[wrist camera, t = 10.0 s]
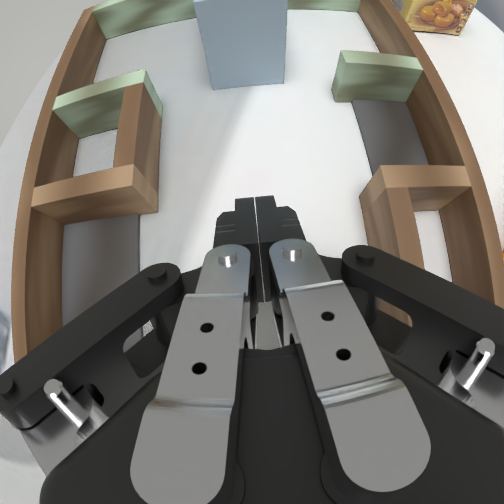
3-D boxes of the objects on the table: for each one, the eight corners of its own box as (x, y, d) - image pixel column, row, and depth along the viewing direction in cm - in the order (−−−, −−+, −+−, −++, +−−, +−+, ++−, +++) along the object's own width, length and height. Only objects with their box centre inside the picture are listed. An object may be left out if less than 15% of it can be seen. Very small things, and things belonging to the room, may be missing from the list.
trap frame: (55, 368, 16) (15, 374, 12) (98, 36, 23) (84, 9, 19) (472, 331, 16) (511, 330, 12) (365, 7, 22) (372, -23, 18)
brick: (213, 90, 20) (193, 2, 12) (212, 18, 22) (199, -52, 14) (283, 84, 20) (287, -6, 12) (267, 13, 22) (265, -58, 14)
